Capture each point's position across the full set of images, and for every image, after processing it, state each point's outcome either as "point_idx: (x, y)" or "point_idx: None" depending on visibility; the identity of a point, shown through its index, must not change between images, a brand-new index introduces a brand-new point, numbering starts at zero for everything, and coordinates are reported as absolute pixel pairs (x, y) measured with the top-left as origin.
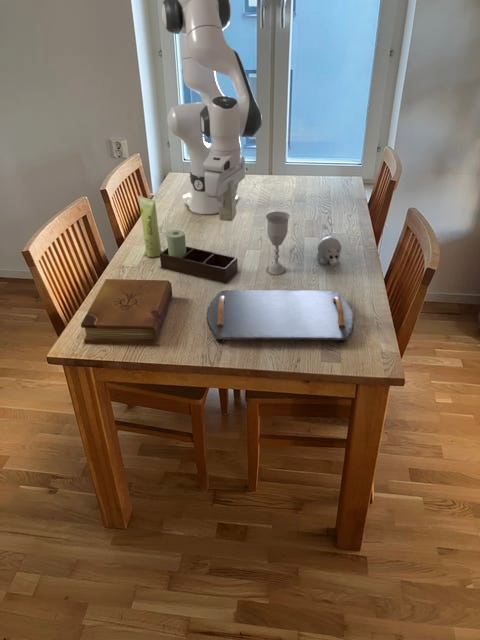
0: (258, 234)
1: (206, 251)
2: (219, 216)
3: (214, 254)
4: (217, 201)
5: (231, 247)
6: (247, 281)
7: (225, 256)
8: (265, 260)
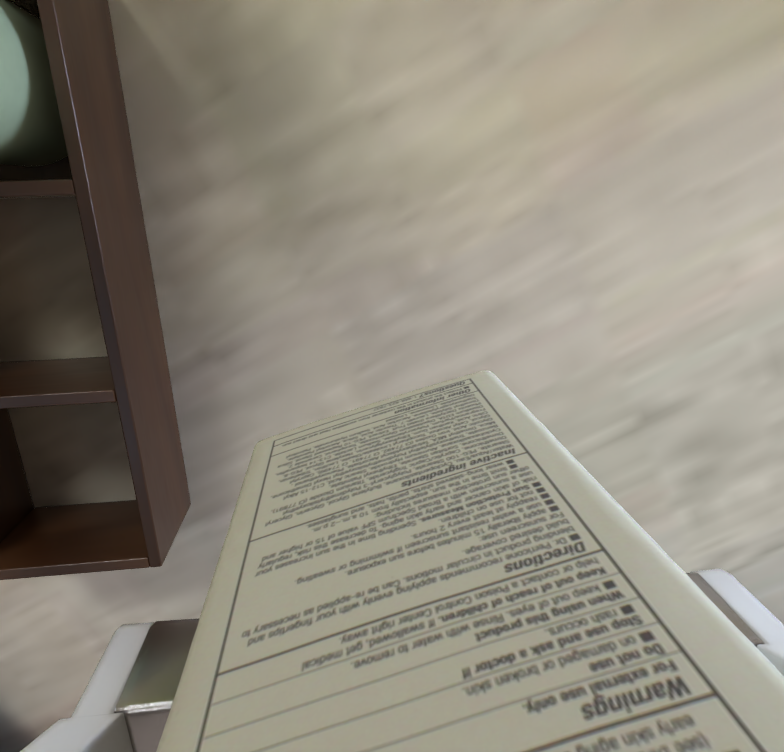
0: (714, 373)
1: (102, 324)
2: (247, 474)
3: (111, 400)
4: (77, 705)
5: (468, 309)
6: (130, 596)
7: (135, 485)
8: None
